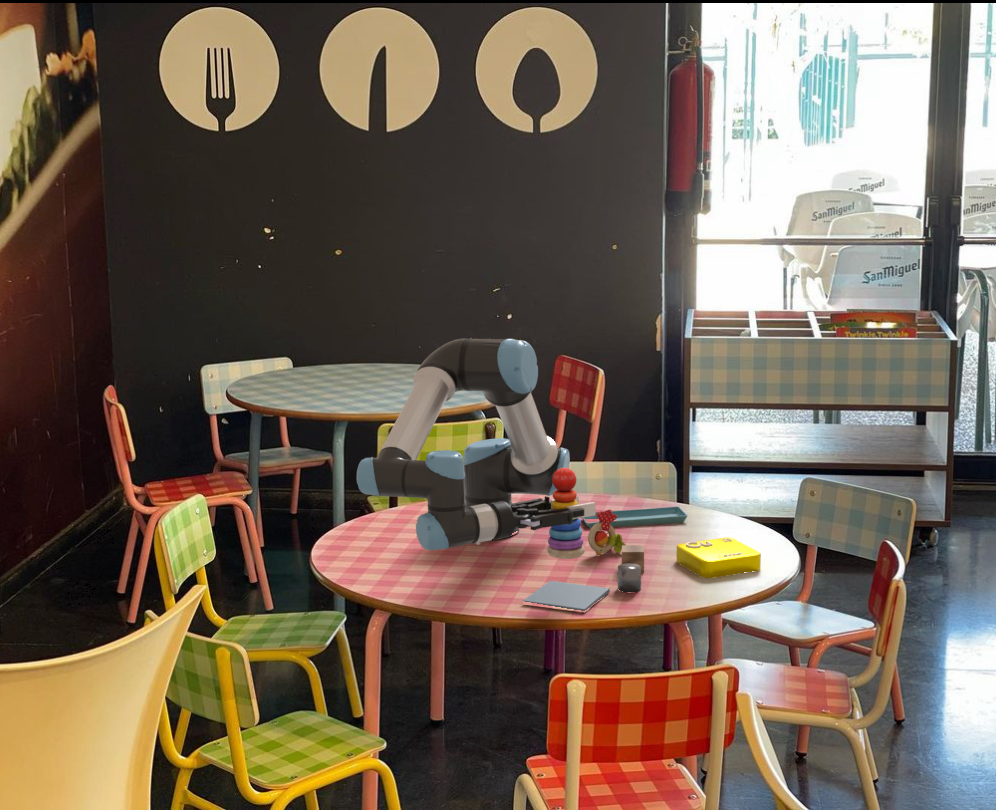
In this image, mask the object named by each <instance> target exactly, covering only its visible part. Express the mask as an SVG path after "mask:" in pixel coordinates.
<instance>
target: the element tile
mask: <svg viewBox="0 0 996 810" xmlns="http://www.w3.org/2000/svg"><path fill="white" fill-rule="evenodd" d="M761 560H762V559H761V553H760V552H759V551H758V550H757V549H754V548H752V547H751V546H749V545H747V544H745V543H743V542H740V541H739V540H737V539H735V538H733V537H730V536H727V537H720V538H713V539H705V540H696V541H689V542H683V543H678V544H677V545H676V563H677V564H678V565H680V564H681V565H680V566H681V567H683V566H684V567H683V568H685V569H687V570H688V571H690V570H691V571H690V572H692V573H694V574H695V573H696V575H697V574H698V575H697V576H699V577H700V576H701V578H703V577H704V578H703V579H714V578H713V577H717V578H722V577H721V576H723V577H727V576H726V575H730V576H734V575H733V574H737V575H739V574H738V573H743V574H745V573H744V572H750V573H753V572H752V571H756V572H759V571H760V570H761V566H762V565H761V562H762V561H761ZM758 570H759V571H758Z"/></svg>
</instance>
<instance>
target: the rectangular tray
mask: <svg viewBox="0 0 996 810" xmlns="http://www.w3.org/2000/svg"><path fill="white" fill-rule="evenodd" d="M598 512H599V511H595V515H594V516H589V517H583V518H581V519H582V521H583V520H584V521H583V522H584V523H585V525H586V527H587V526H588V527H589V528H588V527H587V528H588V529H591V528H592V527H593V526H594V525H595V524H597V523H599V522H593V523H587V522H586V520H585V519H598V518H597V515H596V514H597V513H598ZM612 513H613V514H615V515H617V519H616V520H617V521H613V522H611V523H609V524H610V525H611V526H612V527H613V526H621V527H632V526H634V525H637V526H648V525H652V524H653V525H666V523H668V524H681V523H682V522H683V523H685V521H686V519H687V517H688V514H687V513H686V512H685V511H684V510H683V509H682V508H681V507H680V506H678V505H677V506H665V507H653V508H639V509H625V510H612ZM622 519H623V520H622ZM664 523H665V524H664ZM613 528H614V527H613Z"/></svg>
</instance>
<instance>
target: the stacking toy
mask: <svg viewBox="0 0 996 810" xmlns="http://www.w3.org/2000/svg"><path fill="white" fill-rule="evenodd" d="M552 482H553V485H554V487H555V488H556V489H557V490H556V491H554V492H553V495H552V498H553V499H554V501H553V502H552V508H553V509H565V508H567V506H573V505H578V503H577V501H576V500H575V499H576V497H577V496H578V494H577V492H576V490H575V489H574V488H575V486H576V485H577V475H576V474H575V472H574V471H573V470H572V469H570V468H569V469H568V468H560V469H558V470H557V471H556V472H555V473H554V474H553V477H552ZM581 526H582V521H581V518H577V519H573V523H571V524H569V525H568V524H564V525H558V526H551V527H549V530H548V534H549V537H548V538H547V544H548V545H547V549H546V551H547V554H548V555H549V556H550V557H553V558H555V559H559V560H560V559H561V560H572V559H577V558H580V557H581V556H583V555H584V554H585V550H586V549H585V546H584V545H583V544H584V537H582V536H583V529H582V527H581Z"/></svg>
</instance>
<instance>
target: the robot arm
mask: <svg viewBox="0 0 996 810" xmlns="http://www.w3.org/2000/svg"><path fill="white" fill-rule="evenodd" d="M537 363H538V359H537V355H536V351H535V349H534V348H533V347H532V345H531V344H530V343H529V342H527V341H525V340H521V339H519V340H518V339H514V338H503V339H502V338H499V339H498V338H497V339H495V338H459V339H458V338H457V339H454V340H452V341H449V342H446V343H444V344H442V346H439V347H438V348H437V349H435V350H434V351H433V352H431V353H430V354H429V355H428V356H427V357H426V358H425V359H424V360H423V362H422V363H421V364H420V365H419V367H418V368H417V371H416V372H415V374H414V377H413V385H414V386H413V388H412V389H411V391H410V393H409V395H408V398H407V399H406V401H405V403H404V405H403V407H402V409H401V411H400V413H399V415H398V417H397V419H396V420H395V422H394V424H393V426H392V428H391V431H389V433H388V436H387V438H386V440H385V442H384V443H383V445H382V447H381V449H380V451H379V453H378V454H377V456H376V457H374V456H371V457H365V458H363V459H361V460H360V462H359V464H358V467H357V470H356V484H357V485H358V489H359V491H360V492H361V493H362V494H364V495H371V496H378V497H398V498H414V499H415V498H416V499H426V500H427V512H425V513H422V514H420V515H419V516H418V517H417V520H416V524H415V533H416V537H417V540H418V543H419V544H420V546H421V547H422V548H423V549H424V550H426V551H436V550H448V549H450V548H457V547H461V546H466V545H472V544H476V545H477V546H478V545H481V543H482V542H489V541H492V539H493V540H495V541H496V540H501V539H502V540H503V539H506V538H511V537H512V536H511V535H512V533H514V532H516V531H518V530H519V531H520V529H526V528H529V527H530V531H537V530H541V529H544V528H551V526H558V525H564V524H568V525H569V524H571V523H573V519H577V518H579V519H582V518H583V517H589V516H594V515H595V512H596V502H594V501H592V502H591V501H590V502H586V503H580V502H579V500H580V499H579V498H580V497H579V495H577V497H576V499H575V500H576V501H577V503H578V505H573V506H567V508H565V509H553V508H552V502H553V501H554V498H553V499H550V496H553V492H554V491H556V490H557V489H556V488H555V487H554V485H553V482H552V477H553V474H554V473H555V472H556V471H557V470H558V469H560V468H568V469H570V460H571V459H570V458H571V457H570V450H568V449H567V448H564V447H558V446H557V444H556V442H555V441H554V439H552V437H550V436H549V435H547V433H546V431H545V428H544V425H543V423H542V420H541V417H540V414H539V411H538V409H537V405H536V402H535V400H534V397H533V395H532V391H533V390H534V389H535V388H536V385H537V382H538V377H539V365H537ZM461 391H465V392H466V391H467V392H482V393H483V396H484V398H485V399H486V400H487V402H488V403H489V404H491V405H493V406H495V408H496V410H497V414H499V417H500V419H501V422H502V425H503V427H504V430H505V432H506V435H507V438H505V437H504V438H503V437H501V438H500V437H499V438H498V437H496V438H490V439H483V440H479V441H478V440H477V441H474V442H471V443H470V444H468V445H467V446H465V448H464V451H463V454H462V453H460V452H458V451H456V450H451V449H448V450H447V449H444V450H443V449H442V450H434V451H430V452H428V453H427V454H426V457H425V460H420V459H418V458H419V456H420V454H421V452H422V449H423V447H424V445H425V443H426V441H427V439H428V437H429V435H430V434H431V431H432V429H433V427H434V425H435V423H436V421H437V419H438V417H439V415H440V413H441V411H442V409H443V407H444V405H445V403H446V402H448V401H450V400H451V399H452V398H453V397H454V395H455V394H456V392H461ZM512 494H522V495H523V494H525V495H540V496H544V500H543V498H541V497H539V498H535V499H528V500H525V501H524V500H523V501H519V502H513V501H512ZM510 536H511V537H510Z"/></svg>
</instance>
